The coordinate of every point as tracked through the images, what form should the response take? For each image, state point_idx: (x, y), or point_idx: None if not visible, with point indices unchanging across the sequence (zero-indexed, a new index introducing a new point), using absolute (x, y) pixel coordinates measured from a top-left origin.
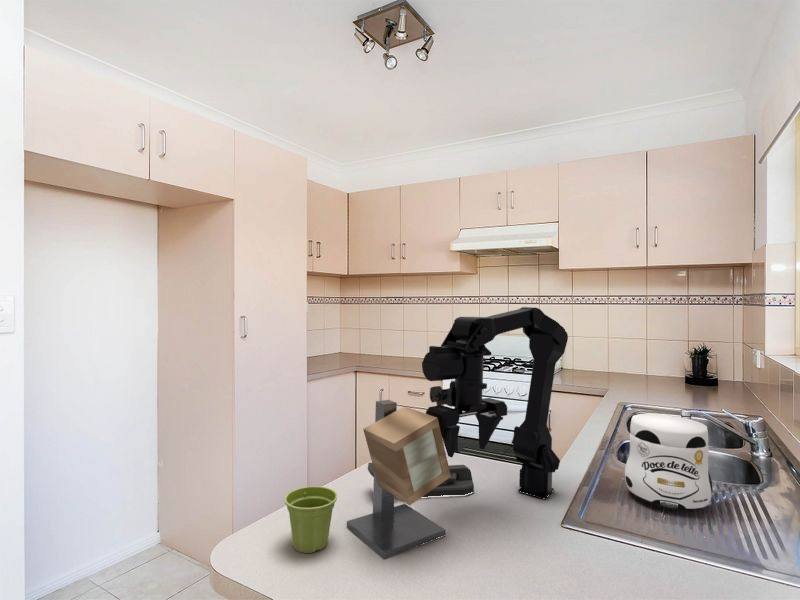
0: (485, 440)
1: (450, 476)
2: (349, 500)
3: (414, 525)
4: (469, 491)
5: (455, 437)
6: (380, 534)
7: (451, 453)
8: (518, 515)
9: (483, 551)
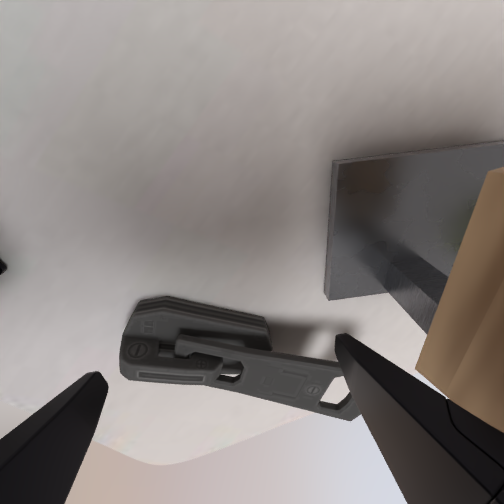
0: (53, 424)
1: (492, 171)
2: (380, 347)
3: (382, 214)
4: (151, 304)
5: (500, 460)
6: (464, 212)
7: (365, 347)
8: (77, 162)
9: (304, 34)
